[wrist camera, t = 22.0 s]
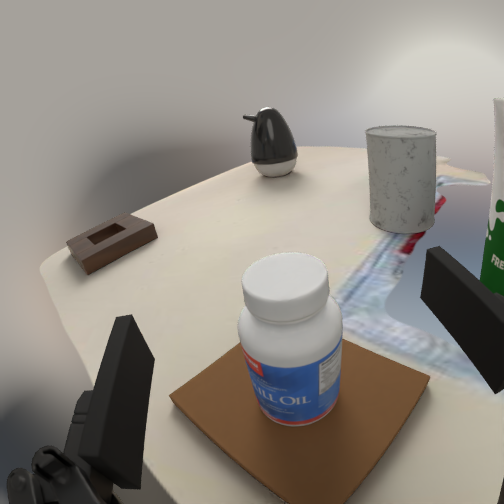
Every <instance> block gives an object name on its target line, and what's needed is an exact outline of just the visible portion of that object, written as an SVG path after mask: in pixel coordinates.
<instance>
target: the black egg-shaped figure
mask: <svg viewBox="0 0 504 504" xmlns="http://www.w3.org/2000/svg"><path fill="white" fill-rule="evenodd" d="M243 118H244V119H246V120H249V121H252V122H254V123H253V127H252V133H251V159H252V163H254V165H255V167H256V169H257V170H258V171H259V172H260V173H261V174H262V175H264V176H268V177H278V176H283V175H286V174H288V173H289V172H291V171H292V170H293V168H294V167H295V164H296V159H297V156H298V153H297V148H296V144H295V141H294V138H293V135H292V133H291V130H290V128H289V126H288V125H287V123H286V121H285V119H284V118H283V116H282V115H281V114H280V113H279V112H278V111H277V110H276V109H274V108H270V107H266V108H263V109H261V110H260V111H259V112H258V113H257V115H256V116H253V115H246V114H245V115H243Z"/></svg>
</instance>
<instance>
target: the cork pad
mask: <svg viewBox="0 0 504 504" xmlns="http://www.w3.org/2000/svg"><path fill="white" fill-rule="evenodd" d="M429 379H430V376H428V375H426V374H424V373H421V372H419V371H416V370H414V369H411V368H409V367H407V366H404V365H402V364H400V363H397V362H395V361H392V360H390V359H388V358H385V357H383V356H381V355H378V354H376V353H374V352H372V351H369V350H367V349H365V348H362V347H360V346H358V345H356V344H353V343H351V342H349V341H347V340H344V339H342V355H341V373H340V388H339V395H338V398H337V401H336V403H335V405H334V407H333V408H332V409H331V411H330V412H329V413H328V414H327V415H326V416H324V417H323V418H321V419H320V420H318V421H316V422H314V423H311V424H308V425H304V426H286V425H282V424H279V423H276V422H274V421H273V420H271V419H270V418H268V417H267V416H266V415H265V414H264V413H263V411H262V410H261V408H260V407H259V404H258V402H257V399H256V396H255V392H254V389H253V385H252V381H251V378H250V374H249V371H248V368H247V364H246V361H245V357H244V354H243V350H242V347H241V343H239V344H238V345H236V346H235V347H234V348H232V349H231V350H230V351H228V352H227V353H226V354H224V355H223V356H222V357H221V358H219V359H218V360H217V361H215V362H214V363H213V364H211V365H210V366H209V367H207V368H206V369H205V370H203V371H202V372H201V373H199V374H198V375H196V376H195V377H194V378H192V379H191V380H190V381H188V382H187V383H186V384H184V385H183V386H181V387H180V388H179V389H177V390H176V391H174V392H173V393H172V394H170V395H169V397H170V398H171V400H172V401H173V403H174V404H175V405H176V406H177V407H178V408H179V409H180V410H181V411H182V412H183V413H184V414H185V415H186V416H187V417H188V418H189V419H190V420H191V421H192V422H193V423H194V424H195V425H196V426H197V427H198V428H199V429H200V430H201V431H202V432H203V433H204V434H205V435H206V436H207V437H208V438H209V439H211V440H212V441H213V442H214V443H215V444H216V445H217V446H218V447H219V448H220V449H221V450H223V451H224V452H225V453H226V454H227V455H228V456H229V457H230V458H232V459H233V460H234V461H235V462H236V463H237V464H239V465H240V466H241V467H242V468H243V469H245V470H246V471H247V472H248V473H249V474H251V475H252V476H253V477H254V478H256V479H257V480H258V481H259V482H261V483H262V484H263V485H264V486H266V487H267V488H268V489H270V490H271V491H272V492H274V493H275V494H276V495H278V496H279V497H280V498H282V499H283V500H284V501H286V502H287V503H289V504H344V503H345V502H346V500H347V499H348V498H349V497H350V496H351V495H352V494H353V492H354V491H355V490H356V489H357V488H358V486H359V485H360V484H361V483H362V481H363V480H364V479H365V478H366V477H367V475H368V474H369V473H370V471H371V470H372V469H373V468H374V466H375V465H376V464H377V462H378V461H379V460H380V458H381V457H382V455H383V454H384V453H385V451H386V450H387V448H388V447H389V446H390V444H391V443H392V441H393V440H394V438H395V437H396V435H397V434H398V432H399V431H400V429H401V428H402V426H403V425H404V423H405V422H406V420H407V418H408V417H409V415H410V414H411V412H412V410H413V409H414V407H415V405H416V404H417V402H418V400H419V399H420V397H421V395H422V393H423V392H424V390H425V388H426V386H427V384H428V382H429Z"/></svg>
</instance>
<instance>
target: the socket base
mask: <svg viewBox="0 0 504 504" xmlns="http://www.w3.org/2000/svg"><path fill="white" fill-rule="evenodd" d="M156 238H158V236H157V233H156V230H155V227H154V224H153V223H151V222H148V221H146V220H143V219H140V218H138V217H135V216H133V215H130V214H127V213H123V214H121V215H119V216H116V217H114V218H112V219H110V220H108V221H106V222H104V223H102V224H100V225H98V226H96V227H94V228H92V229H90V230H88V231H86V232H84V233H82V234H80V235H78V236H76V237H74V238H73V239H71V240H69V241H67V242H66V243H67V245H68V248H69V250H70V252H71V254H72V256H73V257H74V258H75V260H76V261H77V262H78V263H79V265H80V266H81V267H82V269H83V270H84V271H85V272H86V274H87V275H89V274H91V273H92V272H94V271H96V270H98V269H100V268H101V267H103V266H105V265H107V264H109V263H111V262H112V261H114V260H116V259H118V258H120V257H122V256H123V255H125V254H127V253H129V252H131V251H133V250H135V249H137V248H138V247H140V246H142V245H144V244H146V243H148V242H150V241H152V240H154V239H156Z"/></svg>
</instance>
